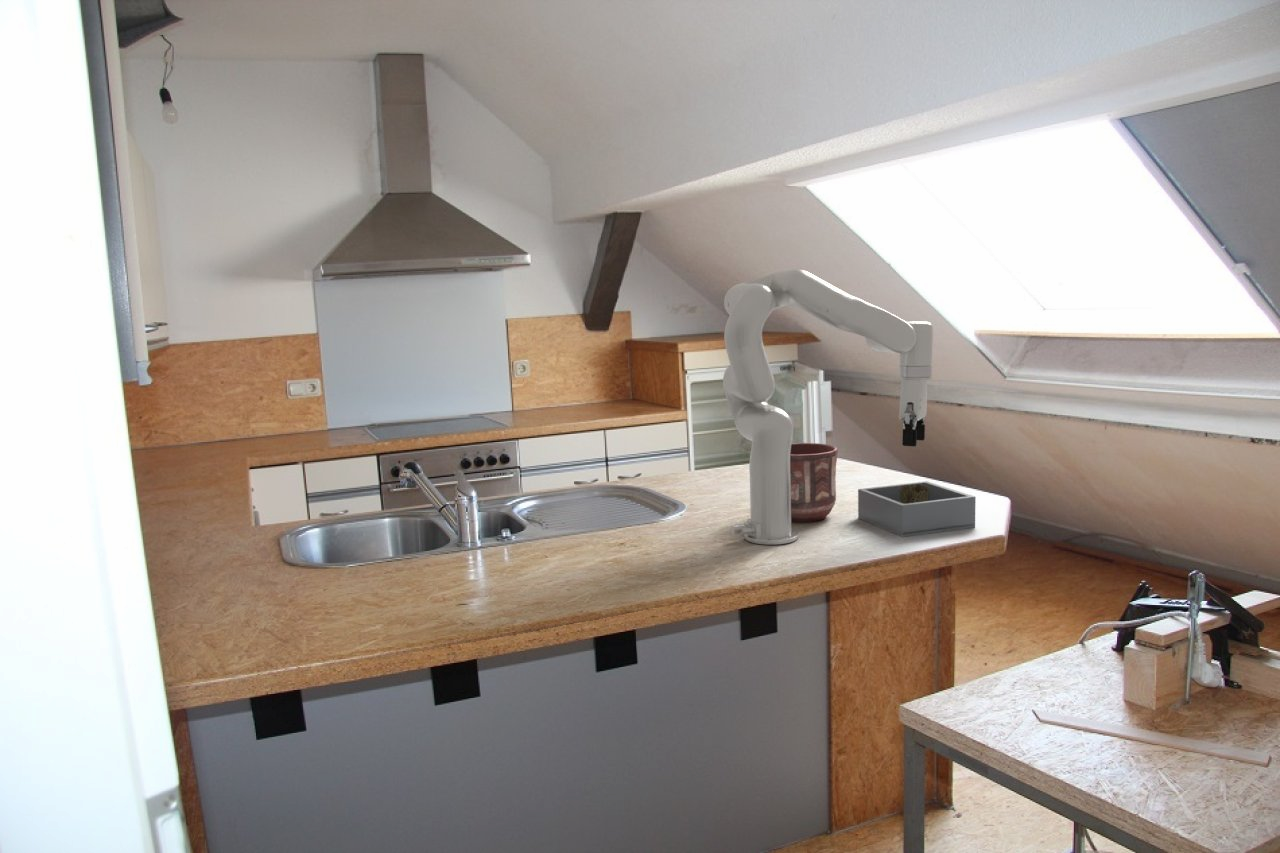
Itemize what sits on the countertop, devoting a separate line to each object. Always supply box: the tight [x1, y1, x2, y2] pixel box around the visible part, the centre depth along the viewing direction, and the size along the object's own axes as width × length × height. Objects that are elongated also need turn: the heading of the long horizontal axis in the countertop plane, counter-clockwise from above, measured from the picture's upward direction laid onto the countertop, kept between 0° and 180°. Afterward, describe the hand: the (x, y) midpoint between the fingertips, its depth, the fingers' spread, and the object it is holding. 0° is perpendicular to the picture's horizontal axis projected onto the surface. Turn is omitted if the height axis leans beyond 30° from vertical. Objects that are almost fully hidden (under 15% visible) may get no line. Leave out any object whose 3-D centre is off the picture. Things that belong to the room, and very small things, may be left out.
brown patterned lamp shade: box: [899, 484, 931, 504], centre depth 237 cm, size 8×7×8 cm
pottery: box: [790, 442, 839, 524], centre depth 246 cm, size 18×18×18 cm
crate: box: [857, 480, 976, 538], centre depth 237 cm, size 20×20×8 cm
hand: (913, 442), depth 234 cm, fingers open, 9 cm apart
